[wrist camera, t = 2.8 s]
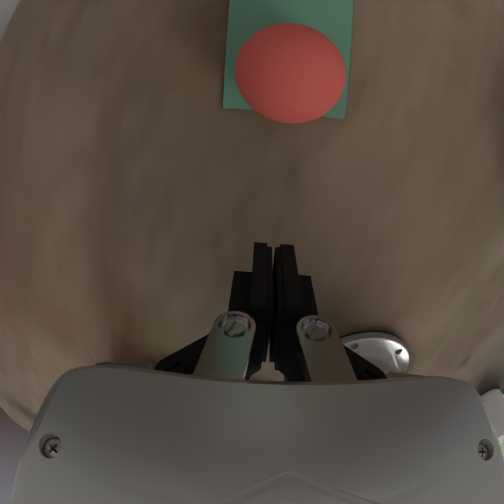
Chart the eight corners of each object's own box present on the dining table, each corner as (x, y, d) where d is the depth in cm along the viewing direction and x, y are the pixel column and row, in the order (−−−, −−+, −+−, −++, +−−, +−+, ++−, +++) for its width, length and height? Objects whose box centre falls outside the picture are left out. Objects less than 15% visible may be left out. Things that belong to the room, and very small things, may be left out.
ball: (342, 50, 15) (371, 34, 10) (319, 130, 18) (340, 144, 13) (252, 26, 15) (244, -2, 9) (231, 107, 18) (215, 112, 12)
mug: (454, 405, 36) (470, 452, 27) (492, 378, 33) (512, 424, 24) (471, 414, 40) (484, 453, 31) (502, 391, 36) (518, 430, 27)
